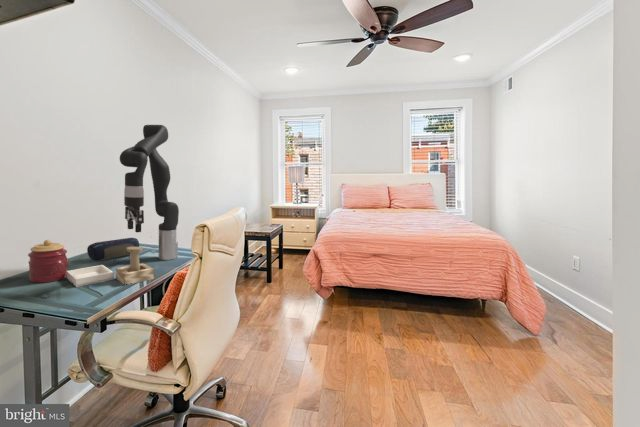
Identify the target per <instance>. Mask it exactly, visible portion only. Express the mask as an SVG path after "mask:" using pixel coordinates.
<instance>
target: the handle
mask: <svg viewBox="0 0 640 427" xmlns="http://www.w3.org/2000/svg"><path fill="white" fill-rule="evenodd" d="M127 251H128V252H130V255H129V256H130V258H129V259H130V261H129V266H130V272H133V271H138V270H140V264H141V263H140V253H141V252H142V251H143V247H141V246H139V247H128V248H127Z"/></svg>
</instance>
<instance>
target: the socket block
mask: <svg viewBox="0 0 640 427" xmlns="http://www.w3.org/2000/svg"><path fill="white" fill-rule="evenodd" d="M154 270H155V269H154V268H153V267H151V266H149V265H148V264H145V263H140V270H138V271H133V272H130V265H127V266H121V267H116V268H115V279H116V280H118V281H119V282H120V283H121V284H123V285H124V284H125V285H124V286H127V285H126V284H129V285H133V284H137V283H141V282H146V281H150V280H154V277H155V276H154V274H155V273H154V272H155V271H154ZM130 283H132V284H130Z"/></svg>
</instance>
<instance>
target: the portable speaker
mask: <svg viewBox="0 0 640 427" xmlns="http://www.w3.org/2000/svg"><path fill="white" fill-rule="evenodd" d="M128 247H140V242H139V240H138V239H137V238H136V237H127V238H120V239H119V238H118V239H112V240H111V239H110V240H105V241H98V242H97V241H96V242H93V243H91V244H89V245H88V246H87V249H86V251H87V255H88V257H89V259H90V260H92V261H103V260H109V259H115V258H121V257H124V256H131V255H130V252H128V251H127V248H128Z"/></svg>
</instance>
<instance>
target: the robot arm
mask: <svg viewBox="0 0 640 427" xmlns="http://www.w3.org/2000/svg"><path fill="white" fill-rule="evenodd" d="M142 135H143V138H142V139H140V140H139V141H138V142H137V143H136V144H134V146H130V147H128V148H126V149H124V150H123V151H122V152H121V153H120V154H119V155H120V156H119V162H120V164H122V165H123V167H127V168H136V169H135V170H134V171H131V172H130V171H129V172H126V173H125V174H124V190H123V191H124V195H123V197H124V198H123V200H124V204H123V205H124V206H125V208H124V219H125V220H126V221H127V229H128V230H133V229H134V232H135V233H142V224H144V223H145V217H144V215H145V213H144V209H141V207H144V205H145V204H144V203H145V199H144V198H145V196H144V195H145V194H144V192H145V190H144V176H145V172H146V168H147V166H148V161H149V168H150V176H151V180H152V185H153V193H154V209H155V213H156V215H158V216H159V217H162V218H163V222H162V223H159V224H158V259H159V260H161V261H171V260H174V259H177V258H178V257H179V255H178V254H179V253H178V251H179V242H178V241H177V228H178V224H179V214H180V212H179V211H180V210H179V206H178V204H177V203H176V202H173V201H169V200H168V195H167V192H168V189H169V185H170V182H171V173H170V172H171V171H170V166H169V164H168V163H167V161H166V160H165V159H164V158H163V157H162V156H161V154H160V153H159V151H158V150H157V148H159V147H160V146H161V145H163V144H164V143H166V142H167V141H168V140H169V132H168V128H167V127H166V126H165V125H164V124H145V125H144V126H143V128H142ZM134 226H135V228H134Z"/></svg>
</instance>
